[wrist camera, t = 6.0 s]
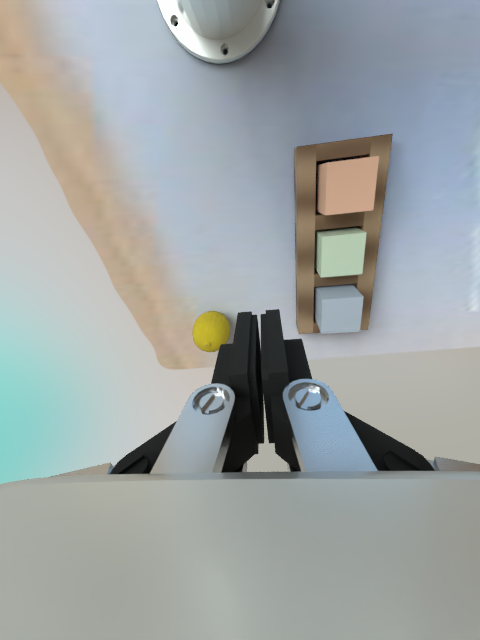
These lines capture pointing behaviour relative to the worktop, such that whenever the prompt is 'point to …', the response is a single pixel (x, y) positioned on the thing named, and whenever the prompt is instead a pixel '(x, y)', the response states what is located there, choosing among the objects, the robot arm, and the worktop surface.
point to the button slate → (338, 308)
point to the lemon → (211, 331)
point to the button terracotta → (347, 185)
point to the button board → (334, 223)
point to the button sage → (339, 251)
